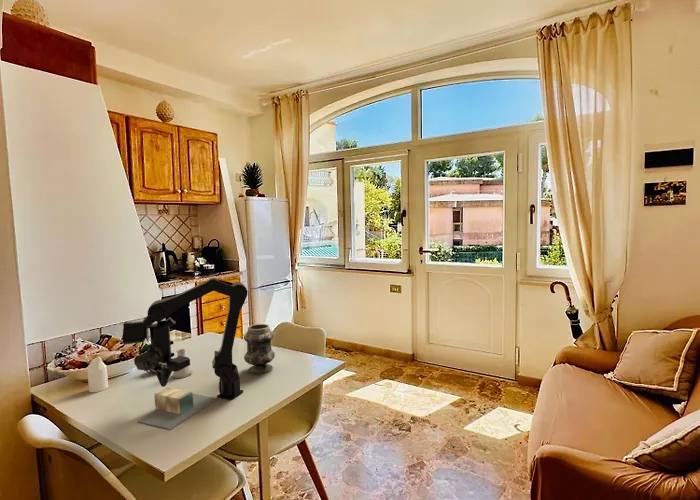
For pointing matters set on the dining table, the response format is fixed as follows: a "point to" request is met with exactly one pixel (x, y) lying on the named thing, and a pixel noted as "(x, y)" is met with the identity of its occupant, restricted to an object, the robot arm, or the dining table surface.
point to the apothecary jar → (259, 348)
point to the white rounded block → (97, 375)
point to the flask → (184, 371)
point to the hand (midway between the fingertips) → (163, 386)
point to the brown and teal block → (174, 400)
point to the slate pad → (173, 419)
